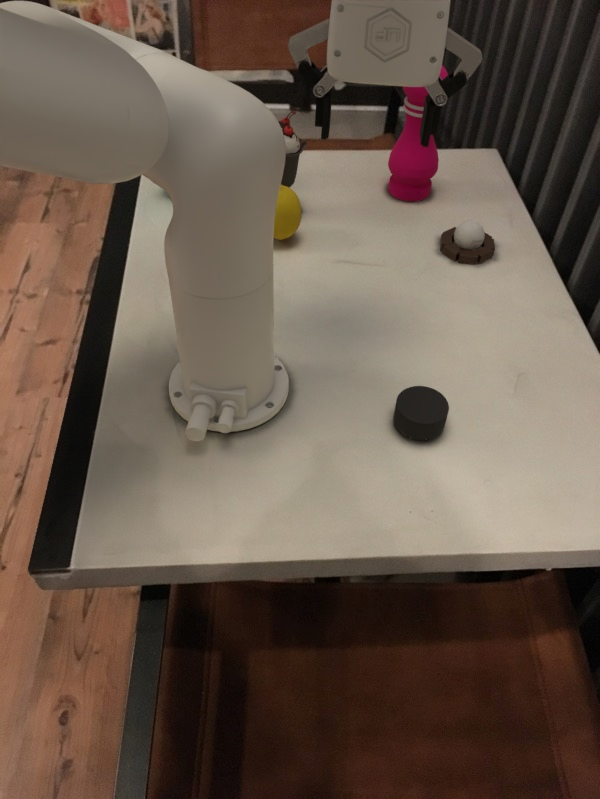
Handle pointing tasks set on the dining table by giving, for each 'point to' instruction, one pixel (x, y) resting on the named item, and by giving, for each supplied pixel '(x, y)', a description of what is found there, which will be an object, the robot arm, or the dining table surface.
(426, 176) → the pepper mill
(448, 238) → the tee ring
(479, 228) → the golf ball
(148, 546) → the dining table surface
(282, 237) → the lemon
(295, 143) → the sundae
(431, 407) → the puck
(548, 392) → the dining table surface
